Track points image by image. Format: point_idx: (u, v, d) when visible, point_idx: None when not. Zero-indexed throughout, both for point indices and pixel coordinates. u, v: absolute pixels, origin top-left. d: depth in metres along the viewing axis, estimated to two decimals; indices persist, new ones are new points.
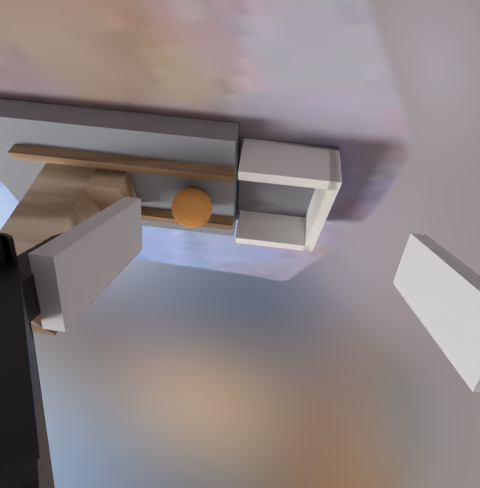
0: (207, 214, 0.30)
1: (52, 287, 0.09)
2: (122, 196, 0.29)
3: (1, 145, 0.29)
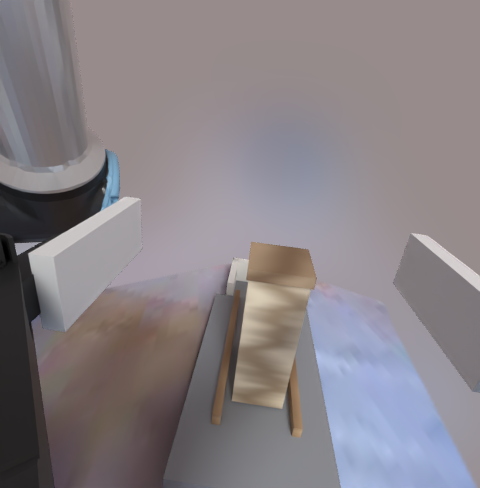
0: None
1: (52, 287, 0.09)
2: None
3: (212, 441, 0.26)
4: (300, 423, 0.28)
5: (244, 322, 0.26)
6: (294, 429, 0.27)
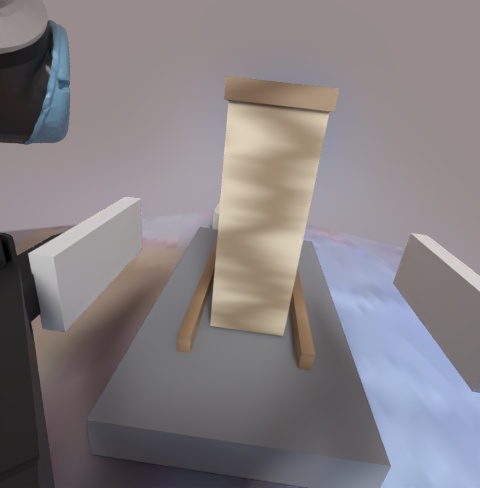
0: None
1: (52, 287, 0.09)
2: None
3: (177, 372, 0.17)
4: (311, 348, 0.18)
5: (224, 185, 0.17)
6: (302, 356, 0.18)
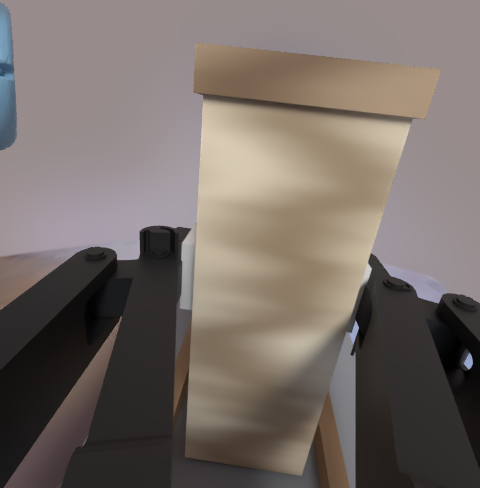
0: None
1: None
2: None
3: None
4: None
5: (200, 253, 0.09)
6: None
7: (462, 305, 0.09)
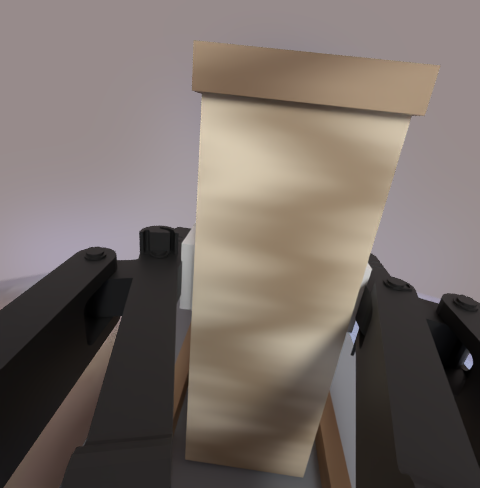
0: None
1: None
2: None
3: None
4: None
5: (199, 253, 0.09)
6: None
7: (463, 305, 0.09)
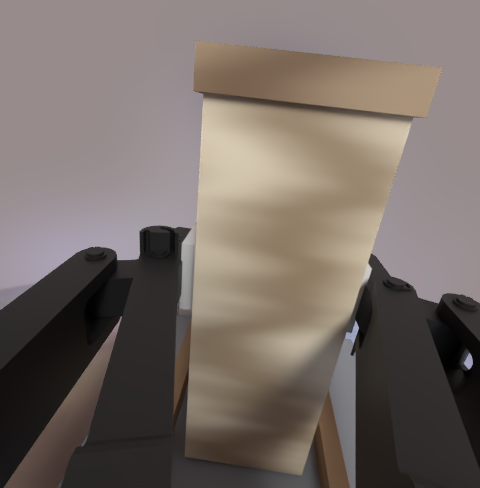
0: None
1: None
2: None
3: None
4: None
5: (200, 253, 0.09)
6: None
7: (462, 305, 0.09)
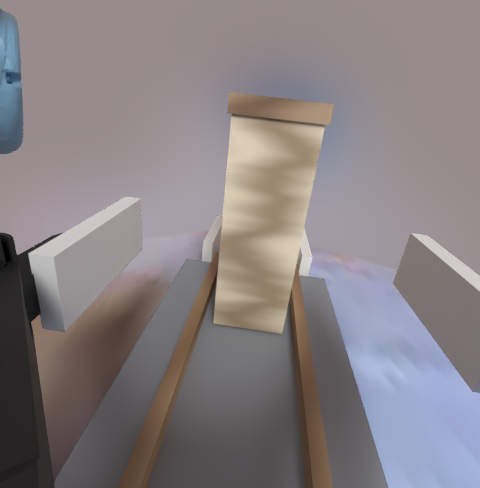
0: None
1: (52, 287, 0.09)
2: None
3: None
4: None
5: (227, 192, 0.18)
6: None
7: None
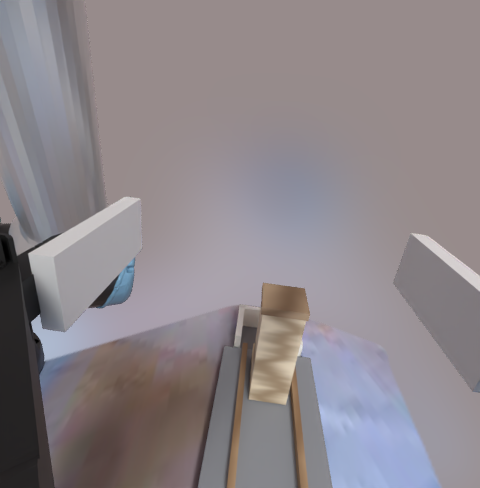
0: None
1: (52, 287, 0.09)
2: None
3: None
4: None
5: (259, 342, 0.37)
6: None
7: None
